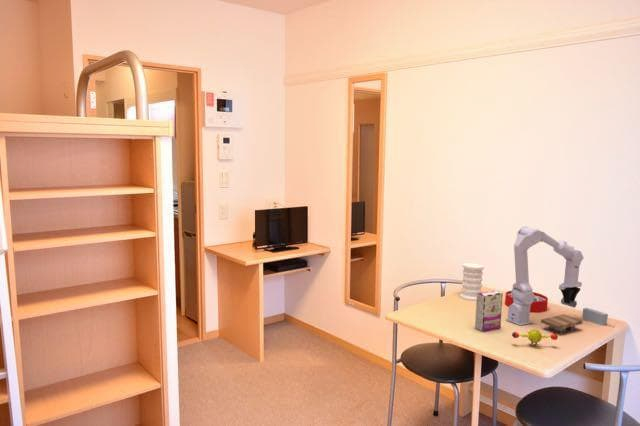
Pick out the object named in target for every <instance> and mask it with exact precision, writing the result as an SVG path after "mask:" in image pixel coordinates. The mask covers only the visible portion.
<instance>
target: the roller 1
mask: <svg viewBox="0 0 640 426" xmlns="http://www.w3.org/2000/svg"><path fill="white" fill-rule="evenodd" d="M548 328H549V330H552V331H555V332H558V333H561V334H564V333H565V332H566V330H567V329H566V328H563V329H558V328H555V327H552V326H549V325H548Z"/></svg>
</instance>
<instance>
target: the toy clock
mask: <svg viewBox="0 0 640 426" xmlns="http://www.w3.org/2000/svg"><path fill="white" fill-rule="evenodd" d="M511 292H512V290H508V291H506V292H505V298H504V305H505V306H506V308H507V307H508V308H509V306H510V305H512V304H513V302H514V300H513V297H512V295H511ZM533 294H534V296H535V299H534V301H533V303H532V304H531V305H530V313H535V314H536V313H537V314H539V313H545V312H547V311H548V304H549V303H548V301H549V298H548V297H547V296H546V295H544V294H541V293H538V292H535V291H533Z"/></svg>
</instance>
